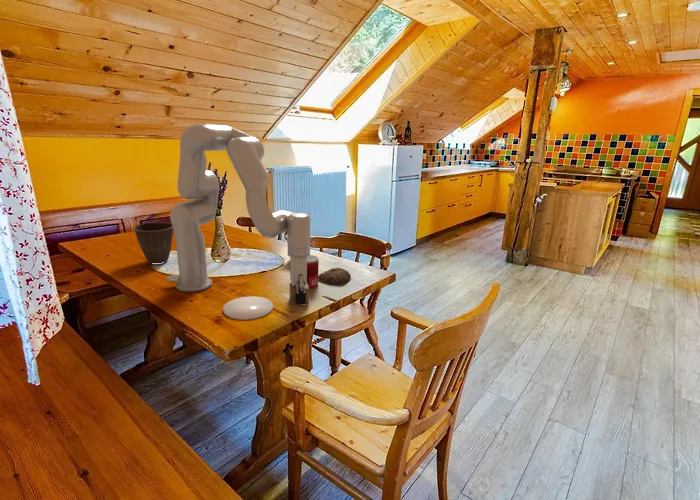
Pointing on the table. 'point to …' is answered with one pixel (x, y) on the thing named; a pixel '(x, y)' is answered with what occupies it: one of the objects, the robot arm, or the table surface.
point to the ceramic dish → (248, 308)
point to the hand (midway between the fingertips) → (299, 297)
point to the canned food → (312, 271)
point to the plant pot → (155, 241)
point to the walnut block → (294, 291)
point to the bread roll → (335, 276)
